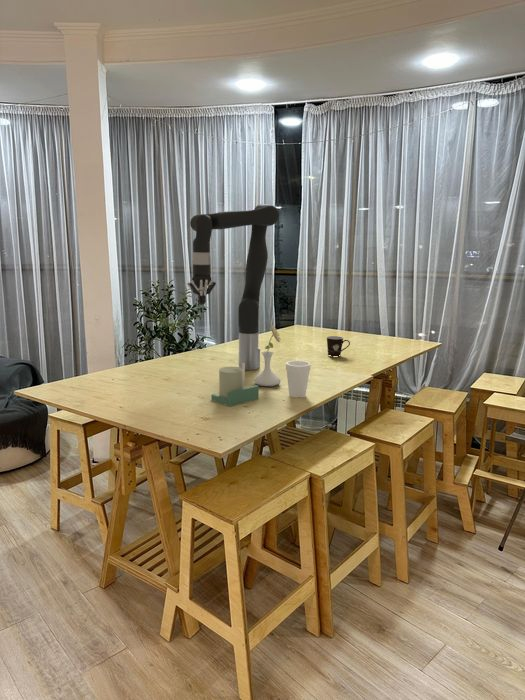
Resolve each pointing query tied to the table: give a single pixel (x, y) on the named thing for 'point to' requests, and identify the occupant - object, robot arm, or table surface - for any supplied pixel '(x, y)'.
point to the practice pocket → (238, 393)
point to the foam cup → (297, 377)
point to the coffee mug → (335, 345)
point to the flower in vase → (268, 365)
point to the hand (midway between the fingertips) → (202, 304)
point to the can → (229, 380)
